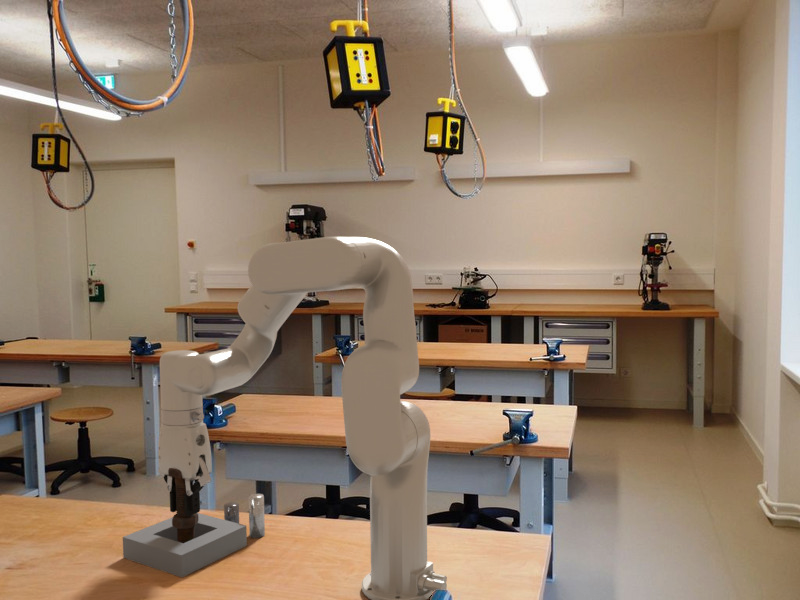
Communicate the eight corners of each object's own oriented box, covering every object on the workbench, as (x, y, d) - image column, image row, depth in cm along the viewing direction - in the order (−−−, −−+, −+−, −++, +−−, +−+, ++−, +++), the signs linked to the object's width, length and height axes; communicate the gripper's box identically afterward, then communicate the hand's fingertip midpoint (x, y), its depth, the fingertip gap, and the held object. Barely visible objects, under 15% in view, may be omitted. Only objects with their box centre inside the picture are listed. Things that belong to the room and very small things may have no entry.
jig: (246, 545, 141) (246, 525, 140) (182, 577, 127) (181, 555, 127) (189, 529, 149) (189, 510, 149) (123, 557, 136) (122, 536, 136)
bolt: (164, 544, 137) (162, 467, 136) (184, 535, 142) (182, 460, 141) (187, 550, 135) (185, 471, 134) (207, 540, 139) (204, 464, 138)
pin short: (242, 527, 150) (242, 503, 150) (232, 532, 148) (231, 508, 147) (232, 524, 152) (231, 501, 152) (221, 529, 149) (220, 505, 149)
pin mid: (267, 534, 147) (267, 495, 146) (257, 539, 144) (256, 499, 143) (256, 531, 148) (255, 492, 148) (246, 536, 146) (245, 497, 145)
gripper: (228, 417, 135) (230, 513, 137) (168, 408, 144) (171, 498, 145) (197, 425, 129) (200, 526, 130) (137, 415, 138) (140, 510, 139)
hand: (185, 510), depth 138 cm, fingers closed on bolt, 3 cm apart
